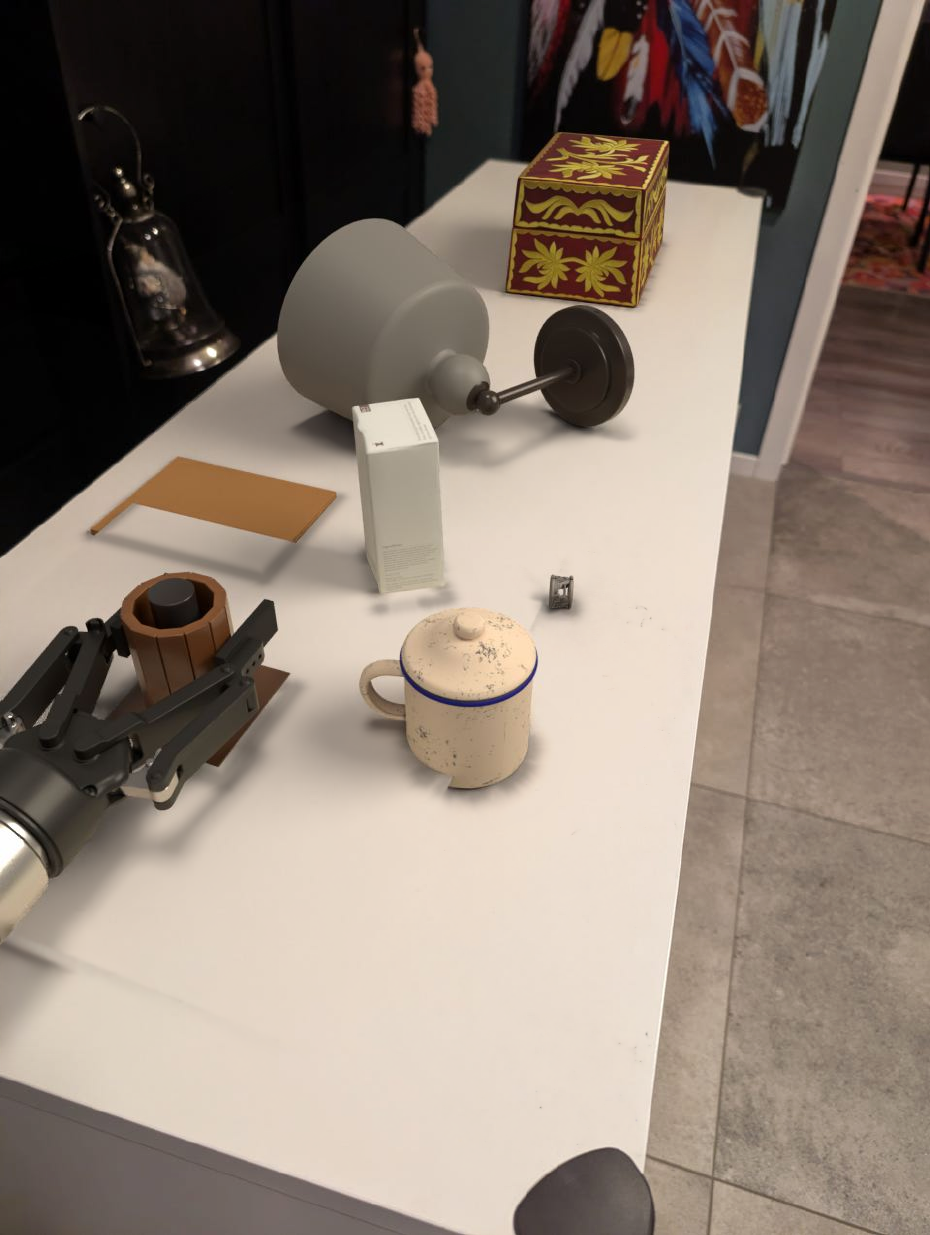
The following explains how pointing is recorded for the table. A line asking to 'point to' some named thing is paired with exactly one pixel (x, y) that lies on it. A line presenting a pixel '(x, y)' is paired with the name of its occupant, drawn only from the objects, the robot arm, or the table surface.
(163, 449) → the table surface
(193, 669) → the brown wooden cylinder
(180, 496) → the wooden board
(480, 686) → the teacup with lid
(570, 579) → the decorative ring
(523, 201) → the decorative box
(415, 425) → the cosmetic box
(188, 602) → the ring holder
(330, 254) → the light fixture
